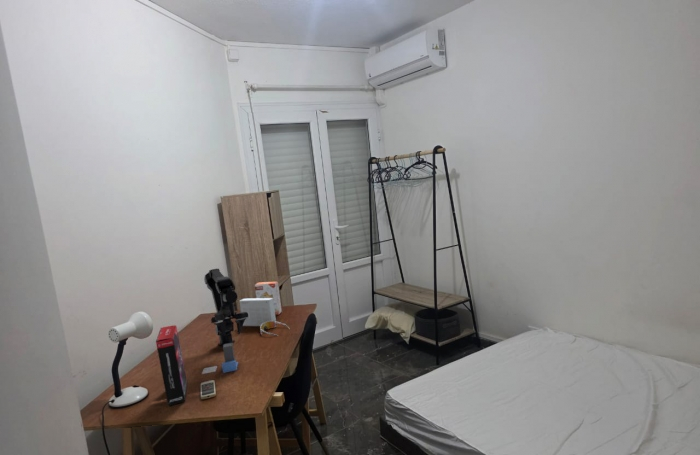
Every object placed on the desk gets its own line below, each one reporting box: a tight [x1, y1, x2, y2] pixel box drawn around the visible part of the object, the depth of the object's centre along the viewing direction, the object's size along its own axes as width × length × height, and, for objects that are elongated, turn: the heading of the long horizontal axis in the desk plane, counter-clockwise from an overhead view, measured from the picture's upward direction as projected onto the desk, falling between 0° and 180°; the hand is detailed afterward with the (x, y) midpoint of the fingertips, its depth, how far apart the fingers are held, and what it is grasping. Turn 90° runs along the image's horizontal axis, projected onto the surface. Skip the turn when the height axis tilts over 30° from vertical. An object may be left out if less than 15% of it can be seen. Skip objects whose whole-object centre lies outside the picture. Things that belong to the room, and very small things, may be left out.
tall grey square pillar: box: [222, 342, 236, 362], centre depth 186 cm, size 4×4×10 cm
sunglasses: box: [259, 320, 291, 337], centre depth 229 cm, size 14×15×5 cm
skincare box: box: [238, 297, 277, 327], centre depth 243 cm, size 21×6×16 cm, turn 71°
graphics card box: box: [155, 324, 188, 407], centre depth 165 cm, size 17×7×27 cm, turn 20°
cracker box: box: [254, 281, 282, 316], centre depth 261 cm, size 14×6×21 cm, turn 81°
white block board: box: [201, 359, 239, 375], centre depth 186 cm, size 20×13×5 cm, turn 103°
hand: (231, 334), depth 199 cm, fingers open, 9 cm apart
